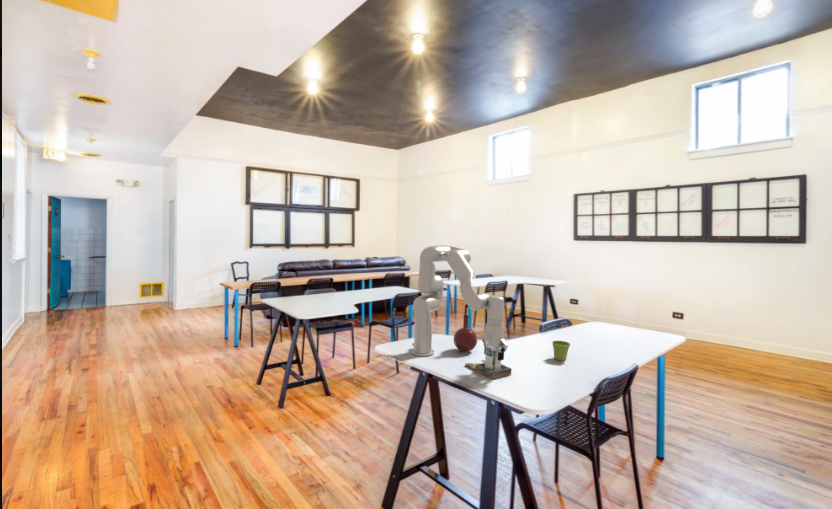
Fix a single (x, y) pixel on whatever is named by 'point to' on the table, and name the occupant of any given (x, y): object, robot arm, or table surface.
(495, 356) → the syrup box
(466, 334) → the round-bottom flask
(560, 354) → the plant pot
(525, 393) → the table surface
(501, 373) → the brown compartment tray
